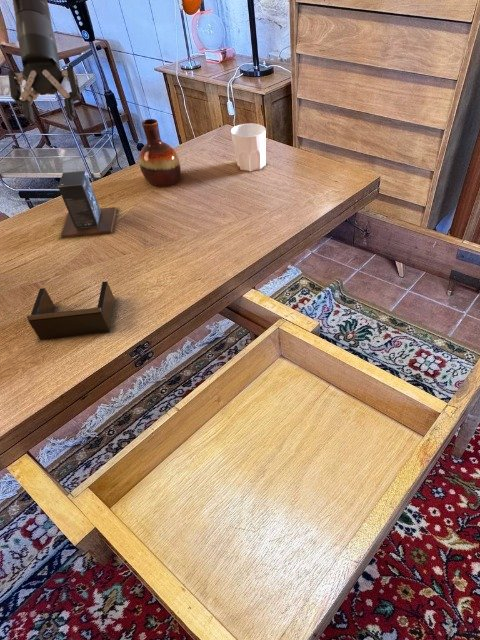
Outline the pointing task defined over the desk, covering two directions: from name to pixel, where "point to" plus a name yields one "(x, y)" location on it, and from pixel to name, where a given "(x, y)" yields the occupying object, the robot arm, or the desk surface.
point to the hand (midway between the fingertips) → (50, 120)
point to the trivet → (103, 227)
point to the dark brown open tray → (71, 317)
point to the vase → (158, 158)
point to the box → (79, 199)
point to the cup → (249, 146)
